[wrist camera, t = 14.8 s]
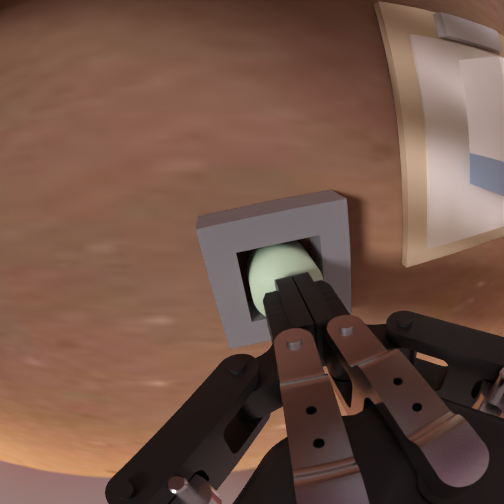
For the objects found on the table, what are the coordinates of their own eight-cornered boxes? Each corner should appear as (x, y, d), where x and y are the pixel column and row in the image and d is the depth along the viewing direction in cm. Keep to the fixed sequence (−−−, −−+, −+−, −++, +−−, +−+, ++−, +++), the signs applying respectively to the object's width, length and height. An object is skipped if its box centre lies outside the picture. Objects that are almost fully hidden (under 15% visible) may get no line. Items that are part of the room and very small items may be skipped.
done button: (240, 244, 16) (245, 266, 13) (305, 230, 16) (321, 249, 13) (252, 299, 17) (258, 327, 15) (311, 286, 17) (325, 311, 15)
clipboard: (373, 4, 11) (385, -4, 10) (510, 41, 12) (522, 40, 10) (401, 263, 18) (413, 273, 16) (519, 226, 18) (530, 232, 17)
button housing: (198, 216, 15) (195, 229, 13) (331, 189, 15) (346, 198, 13) (227, 327, 18) (229, 348, 16) (339, 301, 18) (351, 319, 16)
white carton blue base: (458, 60, 12) (498, 56, 9) (490, 67, 12) (527, 66, 9) (469, 183, 15) (508, 198, 12) (498, 179, 15) (534, 192, 12)
